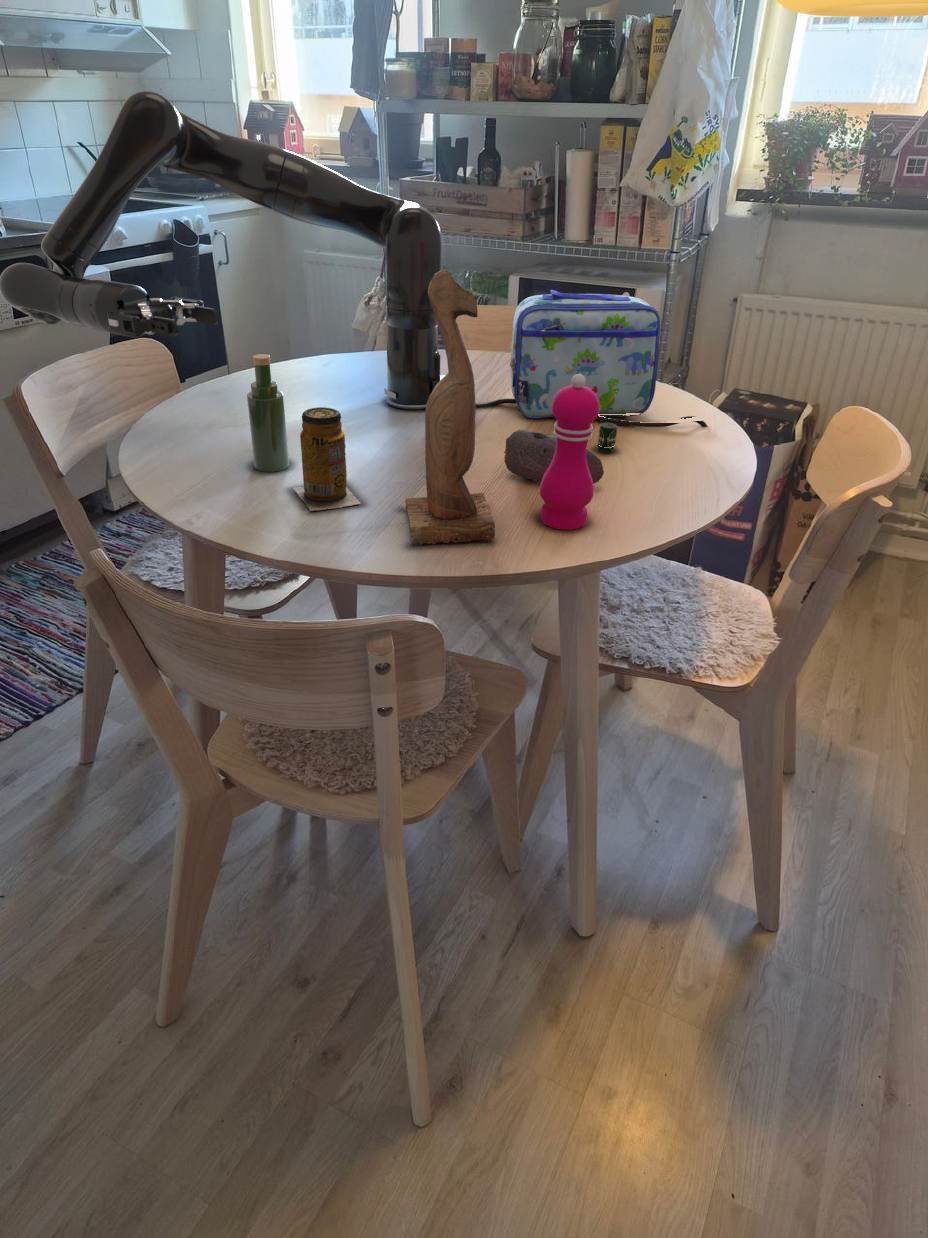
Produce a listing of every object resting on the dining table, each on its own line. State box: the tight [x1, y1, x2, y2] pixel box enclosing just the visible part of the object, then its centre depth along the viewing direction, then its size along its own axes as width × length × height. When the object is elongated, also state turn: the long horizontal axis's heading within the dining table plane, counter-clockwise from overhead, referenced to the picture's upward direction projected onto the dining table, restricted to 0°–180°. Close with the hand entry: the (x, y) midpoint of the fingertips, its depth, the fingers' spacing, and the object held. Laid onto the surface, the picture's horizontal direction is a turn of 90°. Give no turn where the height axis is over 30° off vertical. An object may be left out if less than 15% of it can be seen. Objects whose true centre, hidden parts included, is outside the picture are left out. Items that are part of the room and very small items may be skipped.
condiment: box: [293, 406, 361, 512], centre depth 113 cm, size 7×8×12 cm
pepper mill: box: [539, 374, 599, 531], centre depth 107 cm, size 7×7×20 cm
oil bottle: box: [246, 353, 290, 473], centre depth 121 cm, size 5×5×16 cm
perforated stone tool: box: [503, 429, 605, 485], centre depth 122 cm, size 15×5×7 cm, turn 66°
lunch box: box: [509, 289, 662, 419], centre depth 146 cm, size 26×11×21 cm, turn 92°
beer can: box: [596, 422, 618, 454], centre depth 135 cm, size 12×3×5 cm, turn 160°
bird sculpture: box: [404, 268, 496, 547], centre depth 101 cm, size 11×12×32 cm
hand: (196, 322), depth 119 cm, fingers open, 8 cm apart
